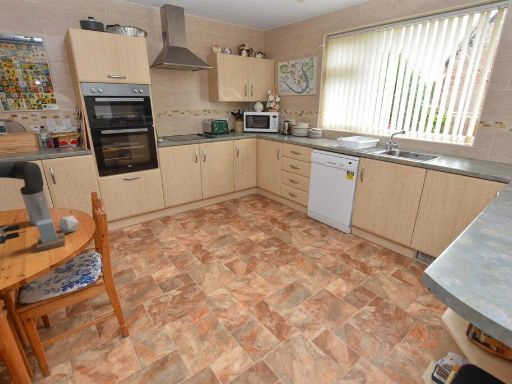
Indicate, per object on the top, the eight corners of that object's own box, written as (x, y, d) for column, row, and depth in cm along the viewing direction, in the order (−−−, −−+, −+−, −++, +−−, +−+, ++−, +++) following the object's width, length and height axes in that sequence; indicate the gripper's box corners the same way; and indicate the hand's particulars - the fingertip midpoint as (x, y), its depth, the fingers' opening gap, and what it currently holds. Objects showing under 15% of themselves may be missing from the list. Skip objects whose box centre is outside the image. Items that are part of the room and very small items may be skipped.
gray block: (42, 238, 125) (37, 221, 122) (56, 235, 128) (52, 218, 125) (42, 243, 121) (37, 225, 118) (57, 240, 124) (52, 222, 121)
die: (80, 226, 143) (66, 213, 140) (84, 223, 137) (69, 210, 134) (67, 238, 138) (51, 224, 135) (70, 235, 132) (54, 221, 129)
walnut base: (39, 243, 127) (38, 237, 126) (65, 237, 132) (63, 232, 131) (38, 253, 119) (36, 247, 118) (65, 246, 124) (63, 241, 123)
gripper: (-41, 241, 100) (16, 228, 110) (-34, 227, 111) (17, 216, 120) (-34, 258, 103) (21, 244, 112) (-28, 243, 114) (22, 231, 123)
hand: (19, 230), depth 116 cm, fingers open, 8 cm apart
